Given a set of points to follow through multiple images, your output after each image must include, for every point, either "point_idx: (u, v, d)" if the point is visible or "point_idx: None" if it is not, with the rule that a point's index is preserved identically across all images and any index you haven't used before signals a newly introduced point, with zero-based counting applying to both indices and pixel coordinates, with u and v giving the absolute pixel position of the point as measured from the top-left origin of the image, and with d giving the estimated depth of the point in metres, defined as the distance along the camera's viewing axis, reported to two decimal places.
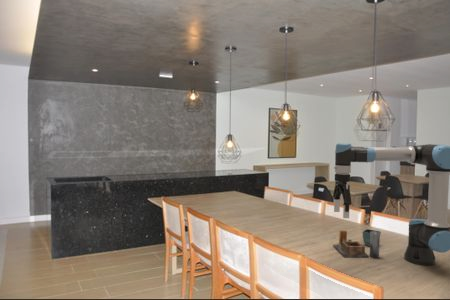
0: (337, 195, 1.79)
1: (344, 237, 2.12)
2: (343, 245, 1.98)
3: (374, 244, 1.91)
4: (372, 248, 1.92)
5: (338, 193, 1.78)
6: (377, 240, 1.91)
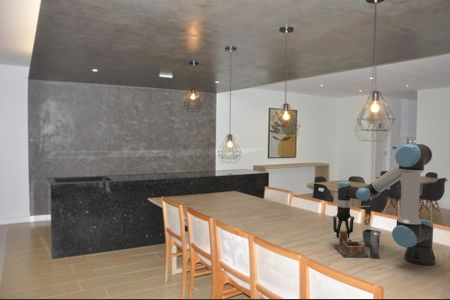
0: (346, 227, 2.13)
1: (344, 237, 2.12)
2: (343, 245, 1.98)
3: (374, 244, 1.91)
4: (372, 248, 1.92)
5: (346, 225, 2.13)
6: (377, 240, 1.91)
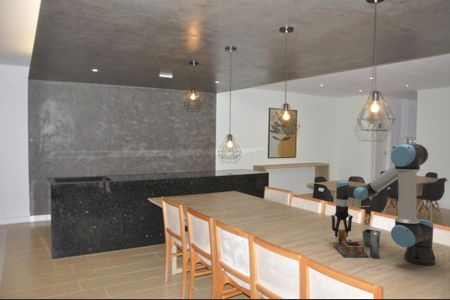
0: (344, 226, 2.16)
1: (342, 236, 2.15)
2: (343, 245, 1.98)
3: (374, 244, 1.91)
4: (372, 248, 1.92)
5: (344, 224, 2.16)
6: (377, 240, 1.91)
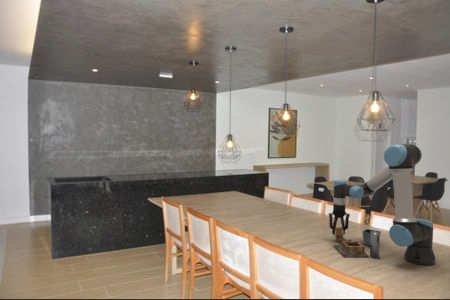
0: None
1: (340, 233, 2.20)
2: (343, 245, 1.98)
3: (374, 244, 1.91)
4: (372, 248, 1.92)
5: (341, 222, 2.21)
6: (377, 240, 1.91)
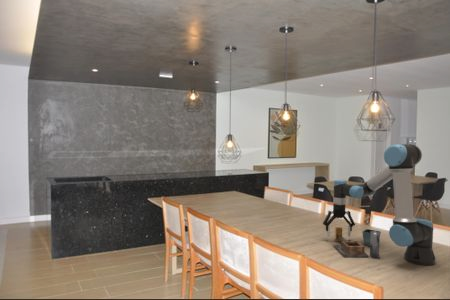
0: None
1: (340, 233, 2.20)
2: (343, 245, 1.98)
3: (374, 244, 1.91)
4: (372, 248, 1.92)
5: (345, 220, 2.21)
6: (377, 240, 1.91)
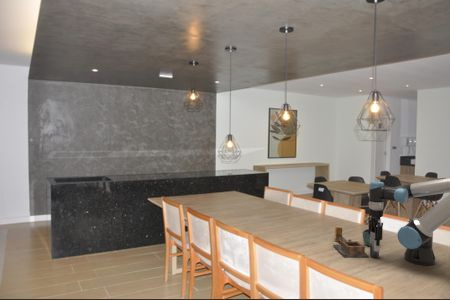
0: None
1: (340, 233, 2.20)
2: (343, 245, 1.98)
3: None
4: (372, 248, 1.92)
5: (373, 228, 1.95)
6: None
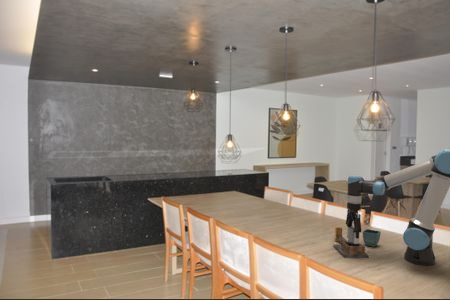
0: (349, 222, 2.01)
1: (340, 233, 2.20)
2: (343, 245, 1.98)
3: (352, 239, 1.95)
4: (350, 243, 1.96)
5: (351, 220, 2.00)
6: None
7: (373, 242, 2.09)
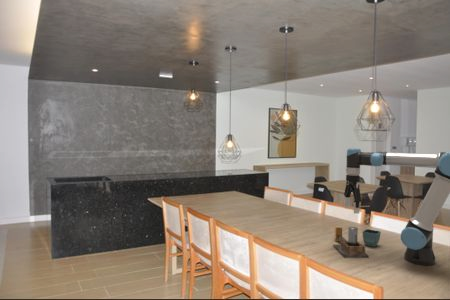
0: (348, 193, 2.04)
1: (340, 233, 2.20)
2: (343, 245, 1.98)
3: (352, 239, 1.95)
4: (350, 243, 1.96)
5: (349, 192, 2.03)
6: (355, 235, 1.95)
7: (373, 242, 2.09)
